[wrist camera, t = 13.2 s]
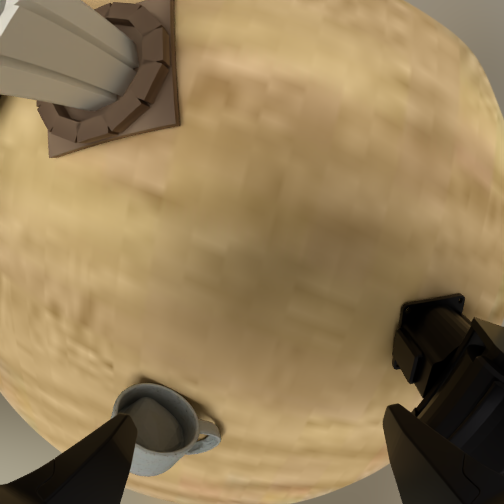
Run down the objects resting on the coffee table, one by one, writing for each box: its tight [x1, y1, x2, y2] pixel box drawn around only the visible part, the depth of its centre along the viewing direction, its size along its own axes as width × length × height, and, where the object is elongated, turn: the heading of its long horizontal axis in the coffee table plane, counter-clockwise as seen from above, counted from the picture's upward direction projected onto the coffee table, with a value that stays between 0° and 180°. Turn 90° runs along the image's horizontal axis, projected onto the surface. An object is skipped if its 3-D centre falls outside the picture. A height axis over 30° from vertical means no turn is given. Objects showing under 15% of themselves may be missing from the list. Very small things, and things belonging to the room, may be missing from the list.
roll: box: [0, 0, 139, 111], centre depth 10 cm, size 6×6×12 cm
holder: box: [37, 0, 180, 158], centre depth 16 cm, size 11×11×3 cm
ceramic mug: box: [111, 383, 221, 476], centre depth 22 cm, size 11×8×8 cm
